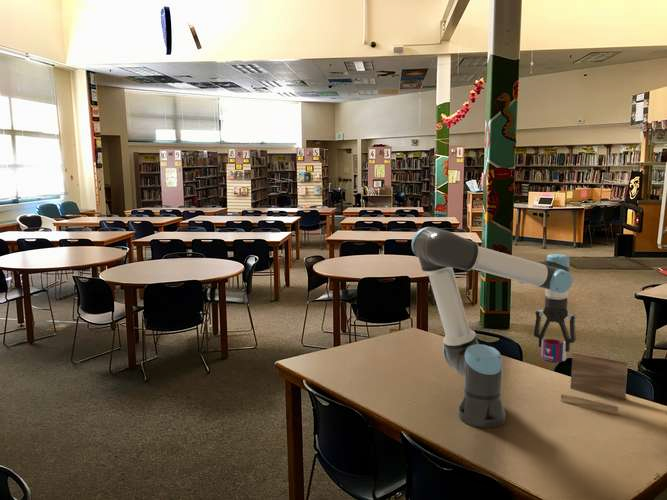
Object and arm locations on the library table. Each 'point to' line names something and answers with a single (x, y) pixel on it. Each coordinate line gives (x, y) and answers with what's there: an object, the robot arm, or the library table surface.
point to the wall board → (599, 375)
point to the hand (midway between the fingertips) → (553, 357)
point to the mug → (552, 350)
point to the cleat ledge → (589, 404)
